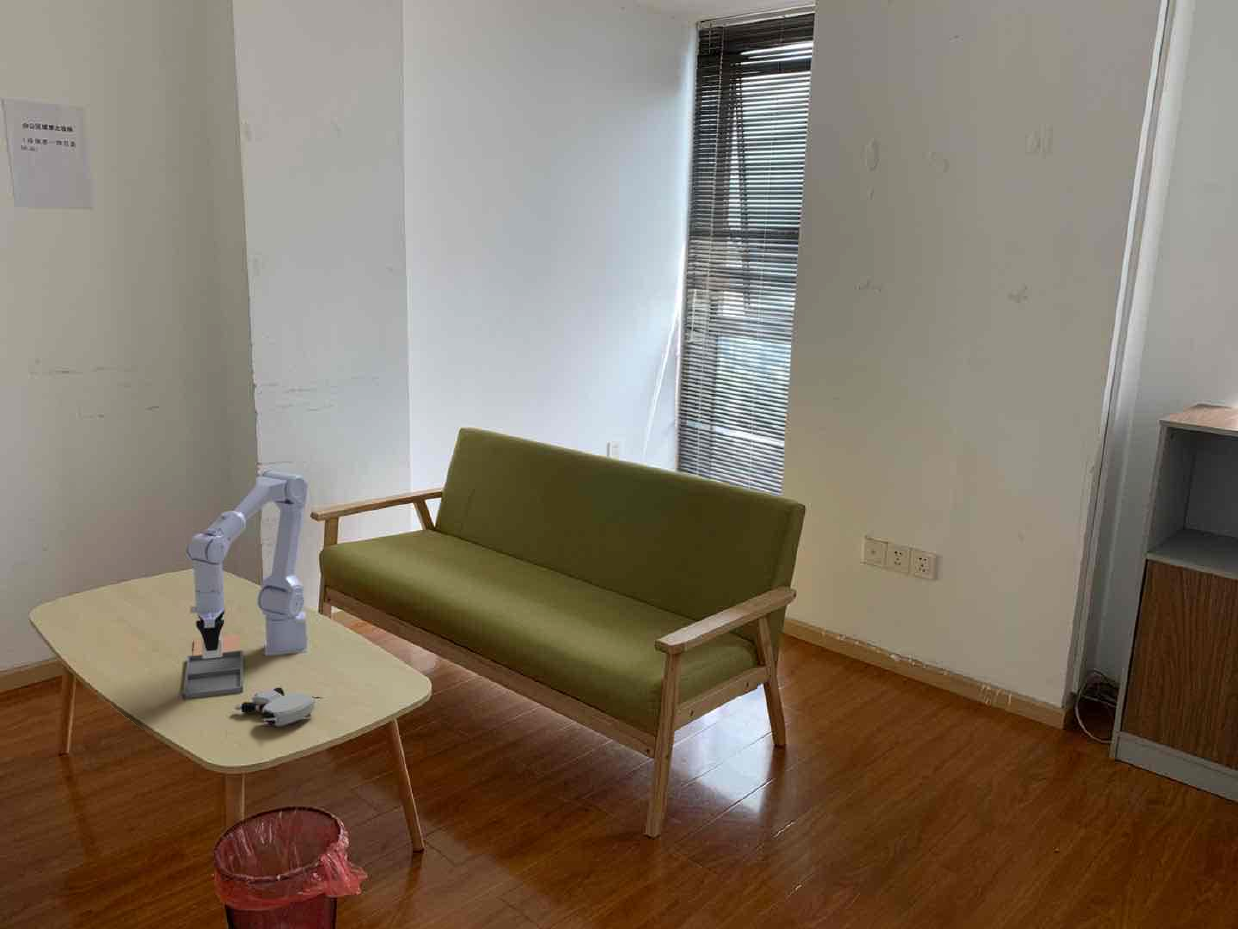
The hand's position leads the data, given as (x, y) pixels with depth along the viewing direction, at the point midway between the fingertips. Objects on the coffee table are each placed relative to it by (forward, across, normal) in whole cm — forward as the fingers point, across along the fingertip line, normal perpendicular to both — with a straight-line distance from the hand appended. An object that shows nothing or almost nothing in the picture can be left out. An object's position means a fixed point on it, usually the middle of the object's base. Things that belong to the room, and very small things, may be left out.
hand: (212, 645), depth 210 cm
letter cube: (+2, 0, 0) cm, 2 cm away
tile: (+9, -21, 0) cm, 23 cm away
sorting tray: (+9, -4, 0) cm, 10 cm away
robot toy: (+10, +18, +13) cm, 24 cm away
